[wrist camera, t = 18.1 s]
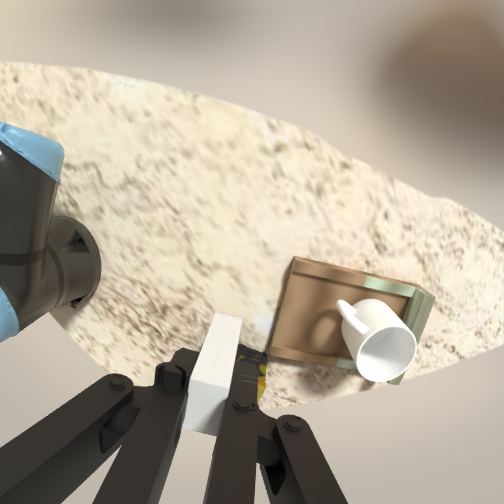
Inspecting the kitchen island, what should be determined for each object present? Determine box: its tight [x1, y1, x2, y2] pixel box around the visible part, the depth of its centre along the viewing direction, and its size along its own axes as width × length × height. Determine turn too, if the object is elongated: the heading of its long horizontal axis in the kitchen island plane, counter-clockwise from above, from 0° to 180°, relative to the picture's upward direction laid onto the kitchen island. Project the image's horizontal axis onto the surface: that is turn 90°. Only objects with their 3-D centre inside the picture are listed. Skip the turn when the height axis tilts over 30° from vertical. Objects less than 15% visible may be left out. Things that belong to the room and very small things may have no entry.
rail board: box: [270, 256, 436, 385], centre depth 45 cm, size 21×15×6 cm
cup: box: [336, 299, 417, 382], centre depth 41 cm, size 8×12×10 cm
